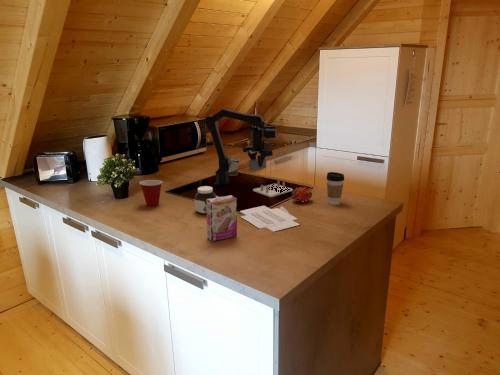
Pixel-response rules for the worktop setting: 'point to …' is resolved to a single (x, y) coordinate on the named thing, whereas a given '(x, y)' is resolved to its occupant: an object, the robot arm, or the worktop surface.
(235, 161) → the food container
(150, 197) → the plastic cup
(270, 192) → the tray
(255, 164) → the drive
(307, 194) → the dragon fruit
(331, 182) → the coffee cup
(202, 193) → the spread jar
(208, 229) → the candy bar box
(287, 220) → the paper stack
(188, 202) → the worktop surface
